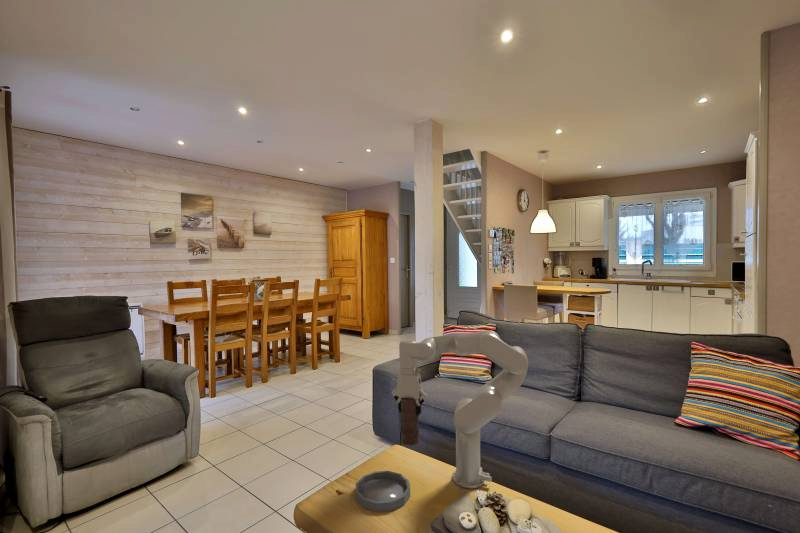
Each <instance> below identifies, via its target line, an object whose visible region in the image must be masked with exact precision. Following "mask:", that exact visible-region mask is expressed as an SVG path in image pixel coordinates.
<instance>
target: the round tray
mask: <svg viewBox="0 0 800 533" xmlns="http://www.w3.org/2000/svg"><path fill="white" fill-rule="evenodd" d="M410 498H411V485H410V481H409V479H408V478H406V477H405V476H404V475H403V474H402V473H399V472H394V471H390V470H378V471H377V470H376V471H373V472H369V473H367V474H365V475H363V476H362V477H361V478H359V480H357V482H356V483H355V501H356V502H357V503H358V504H359V505H360V506H361V507H362V509H365V510H369V511H372V512H376V513H381V512H393V511H395V510H398V509H399V508H401V507H403V506H405V505H406V504H407V502H408V501H409V499H410Z"/></svg>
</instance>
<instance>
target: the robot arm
mask: <svg viewBox="0 0 800 533" xmlns="http://www.w3.org/2000/svg"><path fill="white" fill-rule="evenodd" d="M398 346H399V348H398V350H399V353H398V354H399V373H398V374H397V382H396V388H394V389H393V390H392V391H391V392H390V393H391V395H392V396H393V398H394V400H395V401H396V403H397V410H398V413H399V414H401V398H406V399H412V398H413V399H415V400H416V403H417V406H416V415H417V416H418V417H419V416H420V415H421V414H422V404H423V403H424V402H426V400H427V399H428V398H429V396H428V394H427V393H426V392H425V391H424V390H423V384H422V378H421V377H422V376H421V371H422V369H421V368H419V366H418V365H419V364H418V360H419V361H425V362H427V361H430V360H431V359H432V358H433V357H434V356H435V355H439V354H440V355H441V354H454V355H456V356H461V357H463V356H470V355H471V356H472V355H478V354H482V355H483V356H484V357H486V358H487V359H488V360H490V361H492V362H493V363H494V364H496V365H498V367H500V368H502V370H501V371H500V372H499V373H498V374H497V375H496V376H494V377H493V378H491V379H490V380H489V381H488V382H486V383H485V384H483V385H481V387H479V388H478V390H477V391H476V392H477V393H476V396H475V398H470V397H464V398H462V399H460V401H459V402H458V403H457V405H456V407H455V410H454V415H453V424H454V427H455V466H456V467H455V470H454V471H453V472H452V475H451V478H452V481H453V483H454V484H456V486H458V487H461V488H464V489H478V488H481V487H482V486H483V485H485V484H484V483H485V481H486V482H489V483H492V478H493V477H492V476H490V475H491V474H490V473H489V472H484V471H483V467H481V428H483V427H484V426H485V425H487V424H488V423H489V422H490V421H492V420H494V419H495V418H496V417H497V416H499V414H500V412H501V410H502V407H503V401H505V400H507V398H508V397H510V396H511V395H512V394H514V393H515V391H517V390H518V389H519V388H520V387H521V386H522V385H523V383H524V381H525V380H526V377H527V374H528V368H529V364H530V363H529V359H528V356H527V353H526V352H525V350H524V348H522V347H520V346H516V345H513V346H511V345H509V344H508V343H506V342H505V341H503V340H502V339H501V338H500V335H499V334H498V333H497V332H496V331H494V330H489V329H488V330H481V331H480V330H479V331H475V332H473V331H472V332H468V333H460V334H451V335H450V334H449V335H438V336H433V337H431V336H430V337H427V338H424V339H423V340H421V341H420V342H417V341H415V340H413V339H404V340H401V341H400V342H399V343H398ZM421 397H422V399H421Z"/></svg>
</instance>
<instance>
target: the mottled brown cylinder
mask: <svg viewBox="0 0 800 533" xmlns="http://www.w3.org/2000/svg"><path fill="white" fill-rule="evenodd" d="M416 406H417V403H416V400H415V399H413V398H412V399H406V398H401V413H400V418H401V419H400V424H401V425H400V428H401V429H400V430H401V434H400V435H401V444H402V445H404V446H405V445H406V446H410V447H411V446H415V445H418V444H419V443H420V429H419V427H420V426H419V424H420V422H419V415H418V416H417V415H416Z"/></svg>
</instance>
